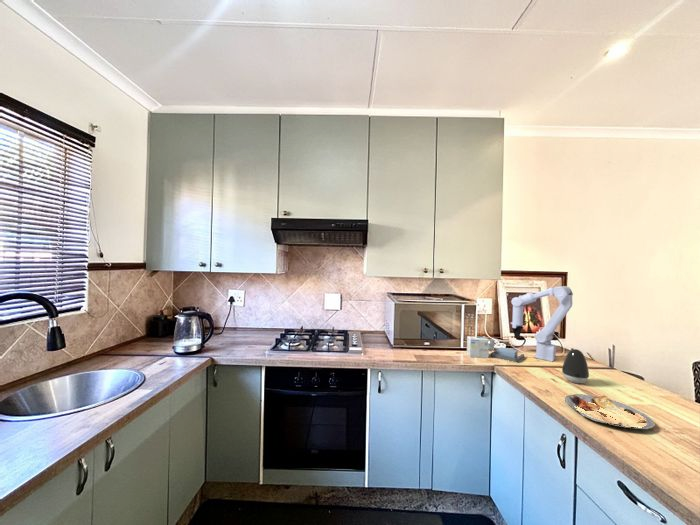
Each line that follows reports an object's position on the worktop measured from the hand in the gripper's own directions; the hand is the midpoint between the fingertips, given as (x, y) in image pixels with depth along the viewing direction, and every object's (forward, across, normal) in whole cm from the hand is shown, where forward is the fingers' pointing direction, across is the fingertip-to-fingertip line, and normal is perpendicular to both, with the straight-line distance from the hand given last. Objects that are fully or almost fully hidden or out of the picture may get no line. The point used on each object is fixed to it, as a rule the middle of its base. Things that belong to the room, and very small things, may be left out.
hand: (516, 338), depth 193 cm
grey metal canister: (+8, +8, -13) cm, 18 cm away
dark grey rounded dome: (+9, +34, +34) cm, 48 cm away
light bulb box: (+9, +29, -13) cm, 33 cm away
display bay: (+8, +18, 0) cm, 20 cm away
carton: (+9, +18, 0) cm, 20 cm away
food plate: (+9, +65, +47) cm, 80 cm away
